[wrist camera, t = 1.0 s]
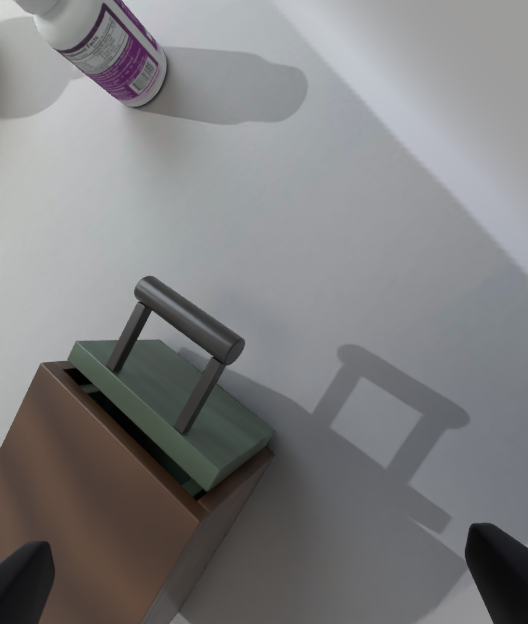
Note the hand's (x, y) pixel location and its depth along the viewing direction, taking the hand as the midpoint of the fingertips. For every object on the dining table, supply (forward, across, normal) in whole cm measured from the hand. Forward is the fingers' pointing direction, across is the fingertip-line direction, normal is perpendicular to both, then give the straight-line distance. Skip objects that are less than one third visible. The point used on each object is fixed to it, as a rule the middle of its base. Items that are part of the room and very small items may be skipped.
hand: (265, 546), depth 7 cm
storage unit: (+15, +6, +11) cm, 20 cm away
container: (+15, +4, +7) cm, 17 cm away
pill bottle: (+27, +9, -18) cm, 33 cm away
